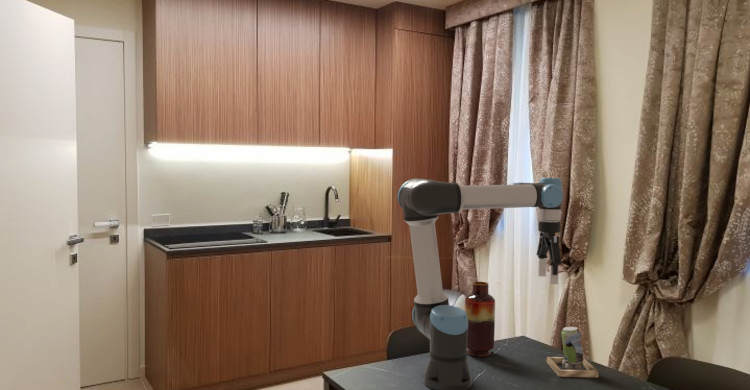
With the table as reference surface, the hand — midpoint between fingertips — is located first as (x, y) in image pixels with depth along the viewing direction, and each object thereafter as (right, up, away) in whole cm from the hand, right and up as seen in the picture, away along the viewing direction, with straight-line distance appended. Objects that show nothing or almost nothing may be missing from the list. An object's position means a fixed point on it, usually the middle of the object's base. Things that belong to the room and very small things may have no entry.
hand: (547, 280), depth 192 cm
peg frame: (+5, -29, -9) cm, 31 cm away
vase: (-23, -28, +7) cm, 37 cm away
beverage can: (+5, -27, -9) cm, 29 cm away
